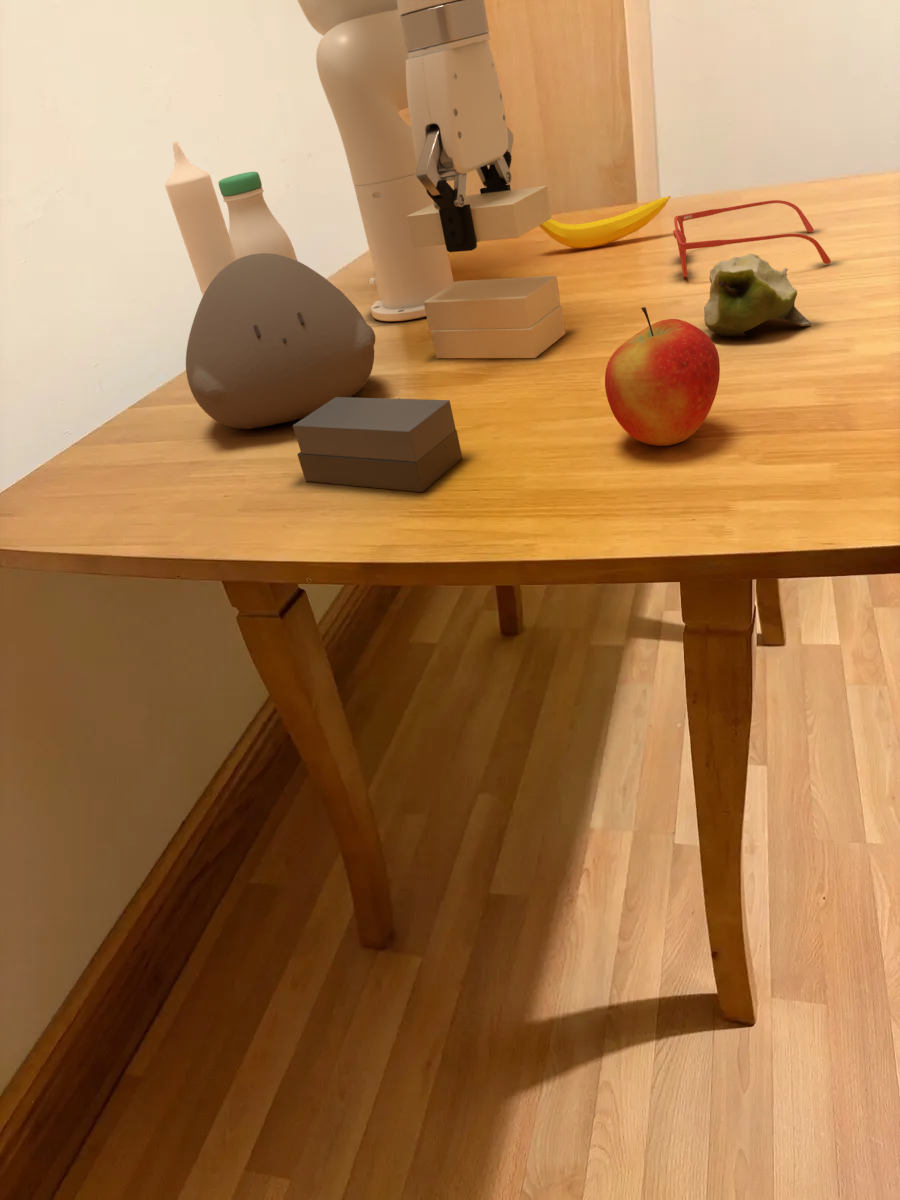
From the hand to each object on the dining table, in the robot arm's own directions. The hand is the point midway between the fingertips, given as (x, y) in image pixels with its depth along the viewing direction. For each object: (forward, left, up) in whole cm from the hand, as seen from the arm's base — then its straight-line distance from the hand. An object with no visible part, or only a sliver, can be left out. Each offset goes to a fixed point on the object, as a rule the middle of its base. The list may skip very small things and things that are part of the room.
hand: (482, 237), depth 89 cm
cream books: (0, 0, -11) cm, 11 cm away
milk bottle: (-27, -11, -11) cm, 31 cm away
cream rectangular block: (0, 0, 0) cm, 0 cm away
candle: (-19, -20, -11) cm, 30 cm away
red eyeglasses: (+7, +32, -11) cm, 35 cm away
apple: (+31, -10, -11) cm, 34 cm away
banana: (-18, +34, -11) cm, 40 cm away
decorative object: (-8, -21, -11) cm, 25 cm away
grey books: (+14, -25, -11) cm, 31 cm away
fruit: (+22, +12, -11) cm, 27 cm away
